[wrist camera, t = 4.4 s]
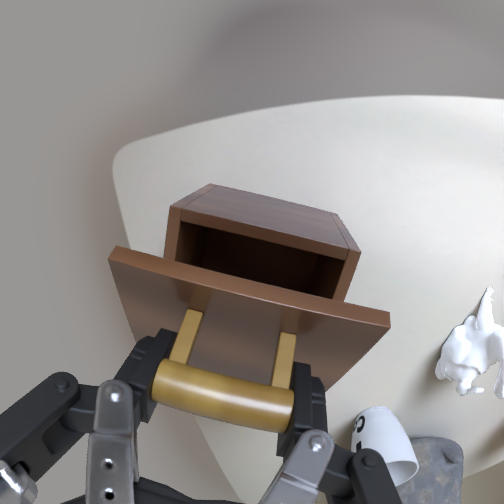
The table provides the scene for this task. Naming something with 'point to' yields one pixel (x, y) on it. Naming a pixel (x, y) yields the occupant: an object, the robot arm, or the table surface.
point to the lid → (238, 338)
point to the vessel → (434, 473)
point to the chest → (263, 241)
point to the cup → (386, 442)
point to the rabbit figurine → (473, 351)
